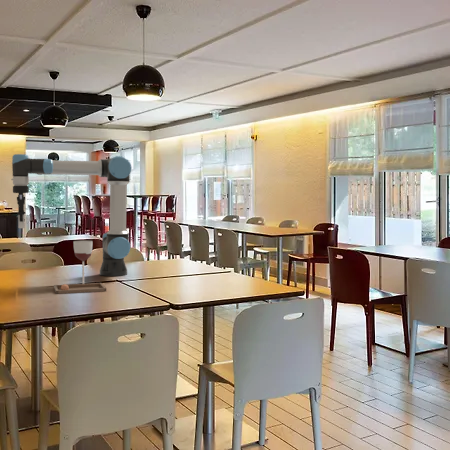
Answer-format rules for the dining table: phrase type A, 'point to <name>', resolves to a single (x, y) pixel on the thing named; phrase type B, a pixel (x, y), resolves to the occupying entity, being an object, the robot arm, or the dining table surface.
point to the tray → (81, 288)
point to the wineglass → (83, 251)
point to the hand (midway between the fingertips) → (21, 227)
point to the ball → (64, 287)
